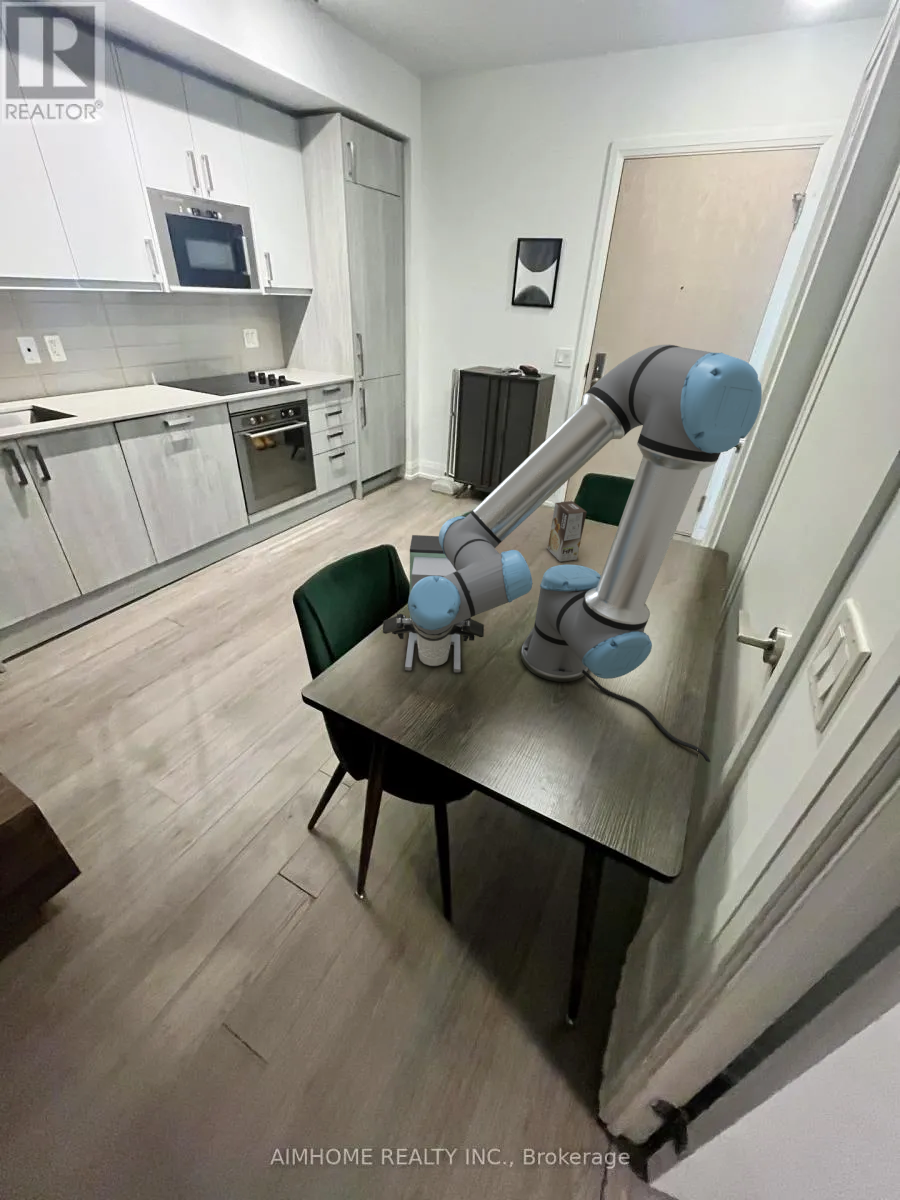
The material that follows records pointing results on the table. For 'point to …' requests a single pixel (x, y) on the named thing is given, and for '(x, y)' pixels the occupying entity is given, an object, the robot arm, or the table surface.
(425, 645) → the white cup
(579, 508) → the coffee box
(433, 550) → the coffee machine
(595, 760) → the table surface
